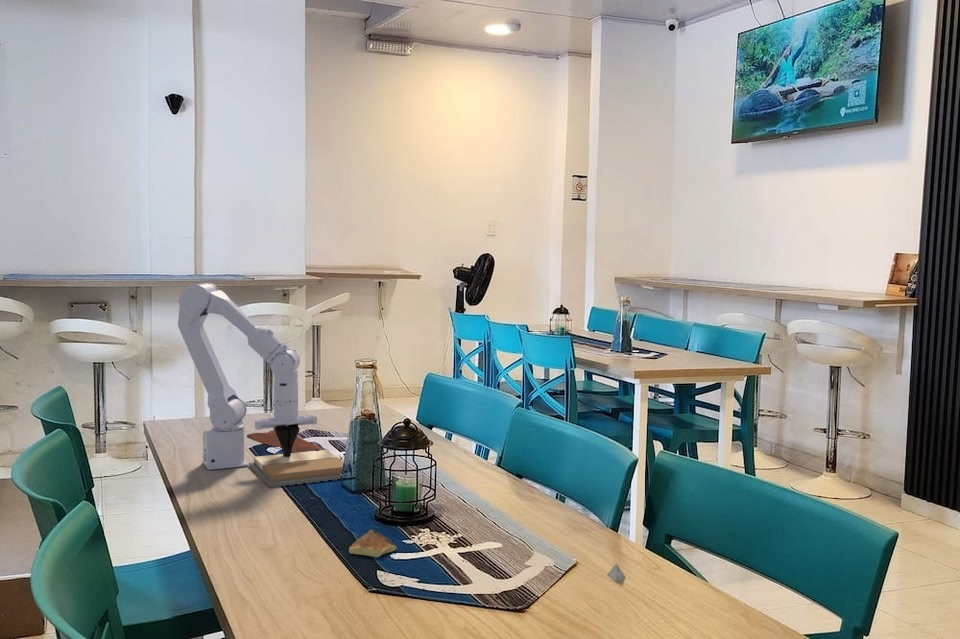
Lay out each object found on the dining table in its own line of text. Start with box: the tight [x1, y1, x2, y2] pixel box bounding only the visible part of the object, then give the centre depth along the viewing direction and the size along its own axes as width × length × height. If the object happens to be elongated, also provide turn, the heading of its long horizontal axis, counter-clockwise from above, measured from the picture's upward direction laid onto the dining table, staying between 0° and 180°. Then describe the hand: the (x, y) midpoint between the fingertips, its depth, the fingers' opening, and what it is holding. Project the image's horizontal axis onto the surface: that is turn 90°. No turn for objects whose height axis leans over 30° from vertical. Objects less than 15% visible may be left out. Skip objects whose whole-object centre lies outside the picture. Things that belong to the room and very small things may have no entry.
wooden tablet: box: [246, 429, 322, 453], centre depth 235 cm, size 27×10×2 cm, turn 43°
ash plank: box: [253, 449, 339, 471], centre depth 211 cm, size 18×8×2 cm, turn 118°
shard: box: [348, 528, 398, 558], centre depth 160 cm, size 11×8×2 cm
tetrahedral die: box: [606, 562, 626, 583], centre depth 148 cm, size 4×3×3 cm
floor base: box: [248, 457, 344, 489], centre depth 207 cm, size 20×19×2 cm
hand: (286, 456), depth 212 cm, fingers closed, pressing on ash plank
